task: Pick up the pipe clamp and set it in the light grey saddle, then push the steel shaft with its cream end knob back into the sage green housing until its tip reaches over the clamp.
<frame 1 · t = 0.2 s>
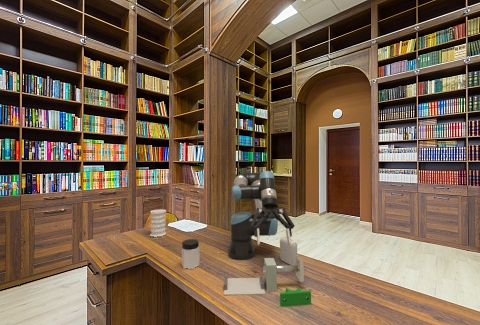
hand: (274, 244, 95), 16 cm above the table, tool tilted 35°, fingers open, 13 cm apart
shaft: (282, 268, 91), point 7 cm above the table, slide at 8.0 cm
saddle: (243, 286, 90), on the table
jar: (190, 266, 110), on the table
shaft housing: (270, 285, 91), on the table
pipe clamp: (294, 303, 80), on the table
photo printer: (288, 262, 113), on the table
decorative container: (158, 236, 158), on the table
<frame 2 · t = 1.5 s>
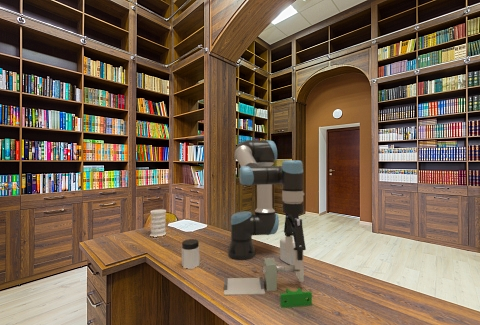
hand: (293, 260, 80), 15 cm above the table, tool pointing down, fingers open, 13 cm apart
nothing on the table moved.
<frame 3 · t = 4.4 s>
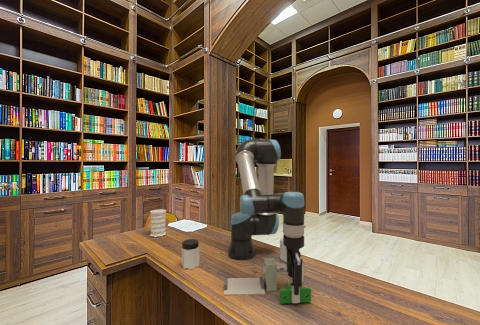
hand: (294, 298, 80), 1 cm above the table, tool pointing down, fingers closed on pipe clamp, 4 cm apart
pipe clamp: (294, 300, 80), on the table, touching gripper
everything else where it was.
when the fingers open (1 cm above the table, at t = 9.3 s): pipe clamp stays where it is, resting on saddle.
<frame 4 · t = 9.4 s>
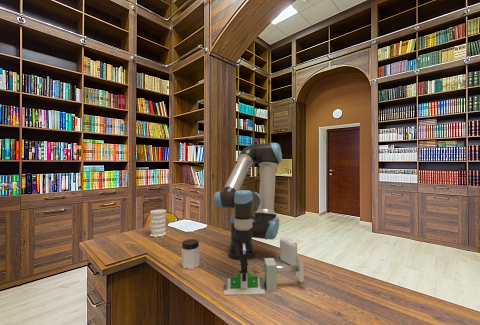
hand: (243, 284, 90), 1 cm above the table, tool pointing down, fingers open, 4 cm apart
pipe clamp: (244, 286, 90), resting on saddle
everything else where it was.
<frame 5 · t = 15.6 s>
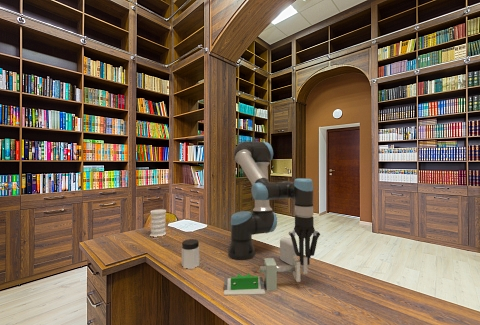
hand: (304, 272, 91), 5 cm above the table, tool pointing down, fingers closed
shaft: (279, 268, 91), point 7 cm above the table, slide at 6.6 cm, touching gripper
everything else where it was.
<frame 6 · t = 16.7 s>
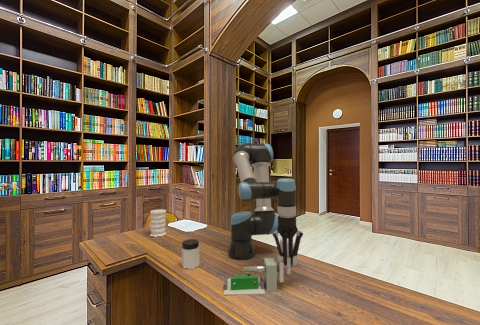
hand: (288, 272, 91), 5 cm above the table, tool pointing down, fingers closed
shaft: (262, 269, 91), point 7 cm above the table, slide at -0.2 cm, touching gripper
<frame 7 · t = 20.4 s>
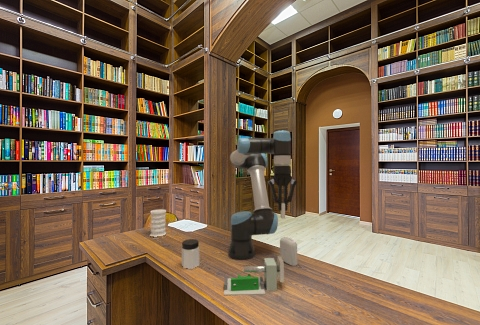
hand: (282, 217, 98), 26 cm above the table, tool pointing down, fingers closed
shaft: (263, 269, 91), point 7 cm above the table, slide at 0.0 cm
at the end: pipe clamp 1.9 cm off-centre on the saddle, point 0.2 cm above the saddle's base; shaft slide at 0.0 cm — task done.
